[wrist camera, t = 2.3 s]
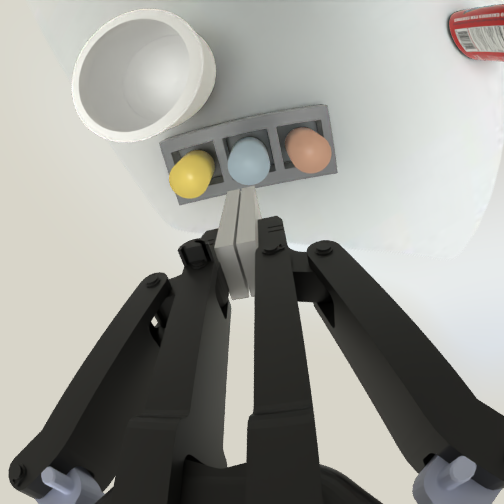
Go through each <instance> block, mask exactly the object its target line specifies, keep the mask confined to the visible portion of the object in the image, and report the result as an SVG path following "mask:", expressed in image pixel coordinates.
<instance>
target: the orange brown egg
mask: <svg viewBox="0 0 504 504" xmlns="http://www.w3.org/2000/svg"><path fill="white" fill-rule="evenodd" d="M285 149H286V152H287V154H288V155H289V157H290V159H291V161H292V163H293V164H294V166H295V167H296V168H297V169H299V170H300V171H302V172H305V173H317V172H319V171H321V170H323V169H324V168H325V167H326V166H327V165H328V164H329V162H330V159H331V147H330V145H329V143H328V141H327V140H326V139H325V138H324V137H322V136H321V135H319V134H318V133H316V132H315V131H313V130H312V129H310V128H307V127H297V128H295V129H293V130H291V131H290V132H289V133H288V135H287V136H286V139H285Z"/></svg>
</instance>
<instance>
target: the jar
mask: <svg viewBox="0 0 504 504" xmlns="http://www.w3.org/2000/svg"><path fill="white" fill-rule="evenodd" d="M215 78H216V64H215V59H214V56H213V53H212V51H211V49H210V47H209V46H208V44H207V43H206V42H205V40H204V39H203V38H202V37H201V36H200V35H199V34H197V33H196V32H195V31H194V30H193V29H192V27H191V26H190V25H189V24H188V23H187V22H186V21H184V20H183V19H182V18H180V17H179V16H177V15H175V14H173V13H171V12H168V11H164V10H160V9H139V10H134V11H130V12H127V13H124V14H122V15H119V16H117V17H115V18H113V19H112V20H110V21H108V22H107V23H106V24H104V25H103V26H102V27H100V28H99V29H98V30H97V31H96V32H95V33H94V34H93V35H92V36H91V37H90V39H89V40H88V41H87V43H86V44H85V45H84V47H83V49H82V50H81V52H80V54H79V56H78V58H77V61H76V64H75V67H74V71H73V75H72V98H73V102H74V106H75V109H76V111H77V114H78V116H79V117H80V119H81V120H82V122H83V123H84V124H85V125H86V126H87V128H89V129H90V130H91V131H92V132H93V133H95V134H96V135H98V136H100V137H102V138H104V139H107V140H110V141H114V142H123V143H127V142H137V141H141V140H145V139H148V138H151V137H153V136H156V135H158V134H160V133H162V132H163V131H165V130H168V129H171V128H173V127H176V126H178V125H180V124H182V123H183V122H185V121H187V120H188V119H189V118H191V117H192V116H193V115H194V114H196V113H197V112H198V111H199V110H200V109H201V108H202V106H203V105H204V104H205V102H206V101H207V99H208V98H209V96H210V94H211V92H212V90H213V87H214V84H215Z"/></svg>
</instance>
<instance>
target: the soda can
mask: <svg viewBox="0 0 504 504" xmlns="http://www.w3.org/2000/svg"><path fill="white" fill-rule="evenodd" d="M449 28H450V32H451V35H452V38H453V40H454V42H455V44H456V45H457V47H458V48H459V49H460V50H461V52H462V53H464V54H465V55H466V56H467V57H469V58H471V59H475V60H488V61H502V62H504V4H500V5H491V6H484V7H477V8H471V9H466V10H461V11H457V12H454V13H453V14H452V15H451V17H450V21H449Z"/></svg>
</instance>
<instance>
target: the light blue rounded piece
mask: <svg viewBox="0 0 504 504" xmlns="http://www.w3.org/2000/svg"><path fill="white" fill-rule="evenodd" d="M269 169H270V160H269V156H268V152H267V148H266V146H265V145H264V143H263V142H262V141H260V140H259V139H257V138H254V137H245V138H242V139H240V140H238V141H237V142H236V143H235V144H234V146H233V148H232V151H231V153H230V156H229V159H228V171H229V173H230V175H231V177H232V178H233V179H234V180H235V181H237V182H238V183H241V184H244V185H254V184H257V183H259V182H261V181H262V180H264V179H265V177H266V176H267V175H268V172H269Z"/></svg>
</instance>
